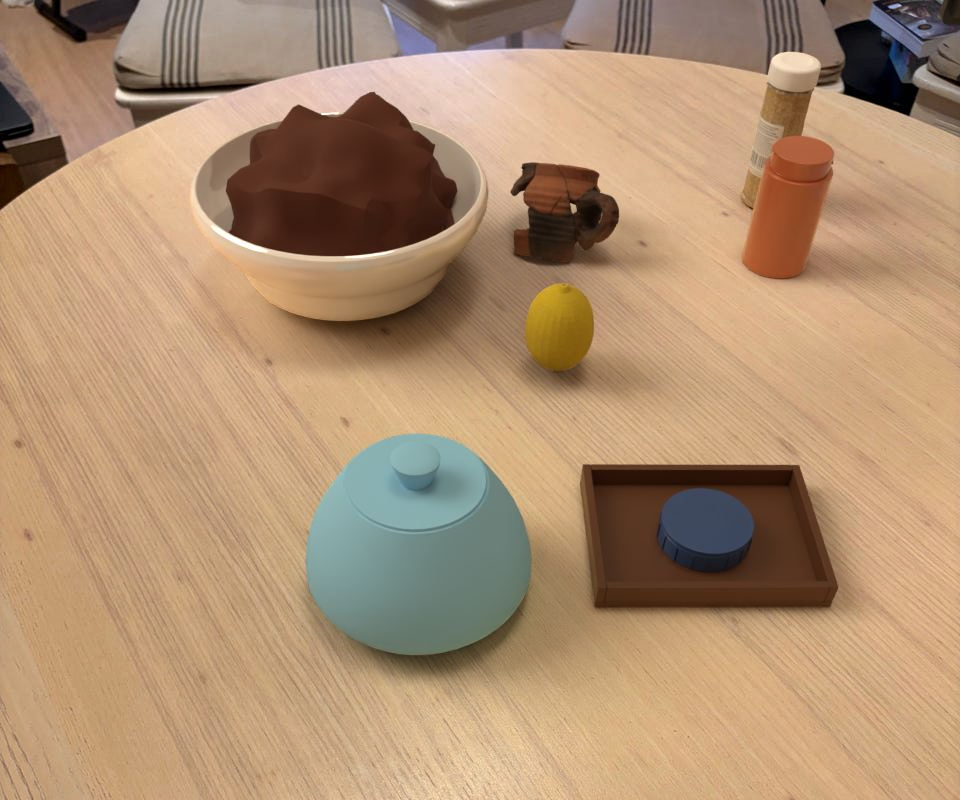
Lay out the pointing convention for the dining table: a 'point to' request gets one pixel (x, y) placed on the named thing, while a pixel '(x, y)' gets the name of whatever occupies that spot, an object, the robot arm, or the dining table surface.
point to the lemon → (559, 327)
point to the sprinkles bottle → (780, 111)
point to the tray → (664, 583)
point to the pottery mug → (562, 211)
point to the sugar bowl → (417, 547)
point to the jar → (788, 206)
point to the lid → (705, 530)
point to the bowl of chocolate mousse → (341, 208)
